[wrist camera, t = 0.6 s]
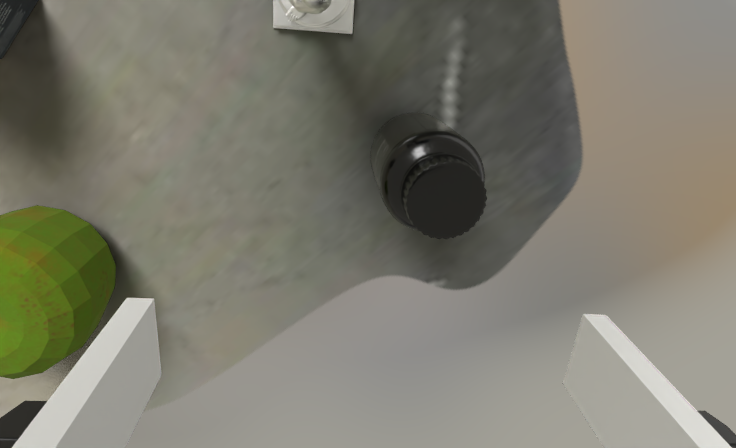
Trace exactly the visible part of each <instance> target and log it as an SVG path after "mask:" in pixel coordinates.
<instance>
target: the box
mask: <svg viewBox="0 0 736 448" xmlns="http://www.w3.org/2000/svg"><path fill="white" fill-rule="evenodd" d="M37 2H38V0H0V59H2V57H3V56H4V54H5V53H6V51H7V50H8V48H9V47H10V45H11V43H12V41H13V40H14V38H15V37H16V35H17V33H18V32H19V30H20V29H21V27H22V25H23V24H24V22H25V21H26V19H27V18H28V16H29V14H30V13H31V11H32V10H33V8H34V6H35V5H36V3H37Z"/></svg>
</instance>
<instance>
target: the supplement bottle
mask: <svg viewBox="0 0 736 448" xmlns="http://www.w3.org/2000/svg"><path fill="white" fill-rule="evenodd" d="M371 166H372V170H373V173H374V176H375V179H376V182H377V184H378V187H379V190H380V193H381V196H382V199H383V201H384V203H385V205H386V207H387V209H388V210H389V212H390V213H391V215H392V216H393V217H394V218H395V219H396V220H397V221H399V222H400V223H401V224H403V225H405V226H406V227H409V228H411V229H414V230H417V231H421V232H422V233H423V234H424V235H429V236H430V237H435V238H437V239H441V238H444V239H447V238H450V237H451V238H454V237H456V236H457V235H462V234H463V233H464V232H467V231H469V229H470V228H471V227H473V226H474V225H475V223H476V222H477V221H479V219H480V216H481V215H482V214H483V209H484V208H485V206H486V204H485V201H486V199H487V197H486V189H485V188H484V182H485V174H484V168H483V164H482V161H481V158H480V156H479V154H478V153H477V151H476V150H475V148H474V147H473V146H472V145H471V144H470V143H469V142H468V141H467V140H466V139H465V138H463V137H462V136H460V135H459V134H458V133H456V132H455V131H454V130H452V129H451V128H450V127H448V126H447V125H445V124H444V123H443V122H441V121H440V120H438V119H437V118H435V117H433V116H431V115H428V114H424V113H418V112H411V113H405V114H401V115H399V116H396V117H394V118H393V119H391V120H389V121H388V122H387V123H386V124H385V125H384V126H383V127H382V128H381V129H380V130H379V131H378V133H377V135H376V136H375V138H374V141H373V144H372V147H371Z"/></svg>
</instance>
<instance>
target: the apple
mask: <svg viewBox="0 0 736 448" xmlns="http://www.w3.org/2000/svg"><path fill="white" fill-rule="evenodd" d="M115 273H116V265H115V262H114V260H113V257H112V255H111V252H110V249H109V247H108V244H107V243H106V242H105V241H104V239H103V238H102V237H101V236H100V235H99V234H98V232H97V231H96V230H95V229H94V228H93V226H92V225H91V224H90V223H88V222H86V221H84V220H82V219H80V218H78V217H77V216H75V215H73V214H71V213H69V212H67V211H66V210H61V209H55V208H49V207H43V206H38V205H37V206H33V207H28V208H24V209H20V210H16V211H12V212H9V213H6V214H3V215H0V377H5V378H11V379H15V378H20V377H25V376H29V375H34V374H39V373H43V372H44V371H46V370H47V369H49V368H50V367H52V366H53V365H55V364H56V363H58V362H59V361H61V360H62V359H64V358H65V357H67V356H69V355H70V354H72V353H73V352H75V351H76V350H78V349H80V348H81V347H83V345H84V344H85V343H86V341H87V340H88V338H89V337H90V336H91V334H92V333H93V331H94V330H95V329H96V327H97V326H98V324H99V322H100V319H101V317H102V315H103V313H104V311H105V309H106V306H107V304H108V302H109V299H110V297H111V295H112V292H113V290H114V287H115Z"/></svg>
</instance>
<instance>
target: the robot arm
mask: <svg viewBox="0 0 736 448" xmlns="http://www.w3.org/2000/svg"><path fill="white" fill-rule="evenodd" d="M161 375H162V373H161V363H160V352H159V342H158V332H157V321H156V311H155V301H154V299H153V298H126V299H125V301H124V302H123V303H122V305H121V306H120V307H119V309H118V310H117V311H116V313H115V314H114V315H113V316H112V318H111V319H110V320H109V322H108V323H107V324H106V326H105V327H104V328H103V329H102V331H101V332H100V333H99V335H98V336H97V337H96V339H95V340H94V341H93V342H92V344H91V345H90V346H89V348H88V349H87V350H86V352H85V353H84V354H83V355H82V357H81V358H80V359H79V361H78V362H77V363H76V365H75V366H74V367H73V369H72V370H71V371H70V372H69V374H68V375H67V376H66V378H65V379H64V380H63V382H62V383H61V384H60V385H59V387H58V388H57V389H56V391H55V392H54V393H53V395H52V396H51V397H50V398H49V400H48V401H24V402H23V403H21V404H20V405H18V406H17V407H15V408H14V409H13V410H11V411H10V412H8V413H7V414H5V415H4V416H3V417H1V418H0V448H126V446H127V444H128V442H129V440H130V438H131V436H132V433H133V432H134V430H135V427H136V425H137V423H138V421H139V419H140V417H141V415H142V413H143V411H144V409H145V407H146V405H147V403H148V401H149V399H150V397H151V395H152V393H153V391H154V389H155V387H156V385H157V383H158V381H159V379H160V377H161ZM563 385H564V386H565V388H566V389H567V391H568V393H569V394H570V396H571V397H572V399H573V400H574V402H575V404H576V405H577V407H578V408H579V410H580V411H581V413H582V414H583V416H584V418H585V419H586V420H587V422H588V424H589V425H590V427H591V428H592V430H593V432H594V433H595V435H596V436H597V438H598V439H599V441H600V442H601V444H602V446H603V447H604V448H736V435H735V434H734V433H733V432H732V431H731V430H730V429H729V428H728V427H727V426H726V425H724V424H723V423H722V422H720V421H719V420H717V419H716V418H714V417H713V416H712V415H710V414H709V413H707V412H706V411H697V410H696V409H695V408H694V407H693V406H692V405H691V404H690V403H689V402H688V401H687V400H686V399H685V398H684V397H683V396H682V395H681V394H680V392H679V391H678V390H677V389H676V388H675V387H674V386H673V385H672V384H671V383H670V382H669V381H668V380H667V379H666V378H665V377H664V376H663V374H662V373H661V372H660V371H659V370H658V369H657V368H656V367H655V366H654V365H653V364H652V363H651V362H650V361H649V360H648V359H647V358H646V357H645V356H644V355H643V353H642V352H640V350H639V349H638V348H637V347H636V346H635V345H634V344H633V343H632V342H631V341H630V340H629V339H628V338H627V337H626V335H624V333H623V332H622V331H621V330H620V329H619V328H618V327H617V326H616V325H615V324H614V323H613V322H612V321H611V320H610V319H609V318H608V316H607V315H598V314H583V316H582V319H581V323H580V326H579V330H578V333H577V336H576V340H575V343H574V346H573V350H572V353H571V357H570V360H569V363H568V367H567V370H566V374H565V377H564V381H563Z"/></svg>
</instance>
